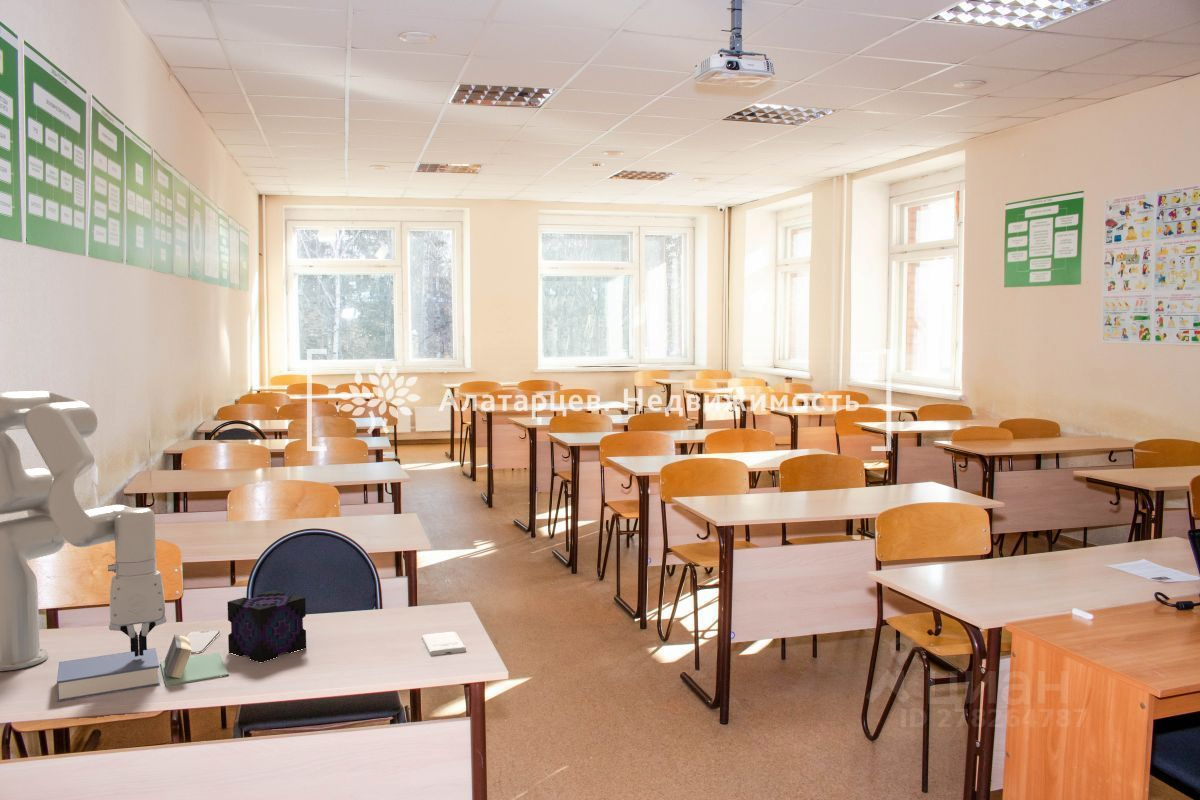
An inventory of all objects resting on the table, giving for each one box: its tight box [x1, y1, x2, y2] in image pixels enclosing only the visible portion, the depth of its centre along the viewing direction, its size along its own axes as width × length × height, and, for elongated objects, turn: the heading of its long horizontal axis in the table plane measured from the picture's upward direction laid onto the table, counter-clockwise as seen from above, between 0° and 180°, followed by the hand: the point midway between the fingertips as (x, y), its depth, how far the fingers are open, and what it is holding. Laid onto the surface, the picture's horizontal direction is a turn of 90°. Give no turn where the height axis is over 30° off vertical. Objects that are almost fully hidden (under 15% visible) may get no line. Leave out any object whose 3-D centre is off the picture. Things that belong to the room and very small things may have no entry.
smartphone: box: [185, 630, 221, 653], centre depth 211 cm, size 7×1×15 cm
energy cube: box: [227, 589, 307, 663], centre depth 205 cm, size 12×12×12 cm
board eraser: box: [163, 634, 192, 678], centre depth 191 cm, size 10×6×3 cm
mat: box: [160, 652, 229, 687], centre depth 193 cm, size 16×12×1 cm
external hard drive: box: [421, 631, 467, 656], centre depth 209 cm, size 2×8×12 cm
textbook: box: [56, 647, 161, 702], centre depth 185 cm, size 13×18×4 cm
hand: (138, 654), depth 188 cm, fingers closed
